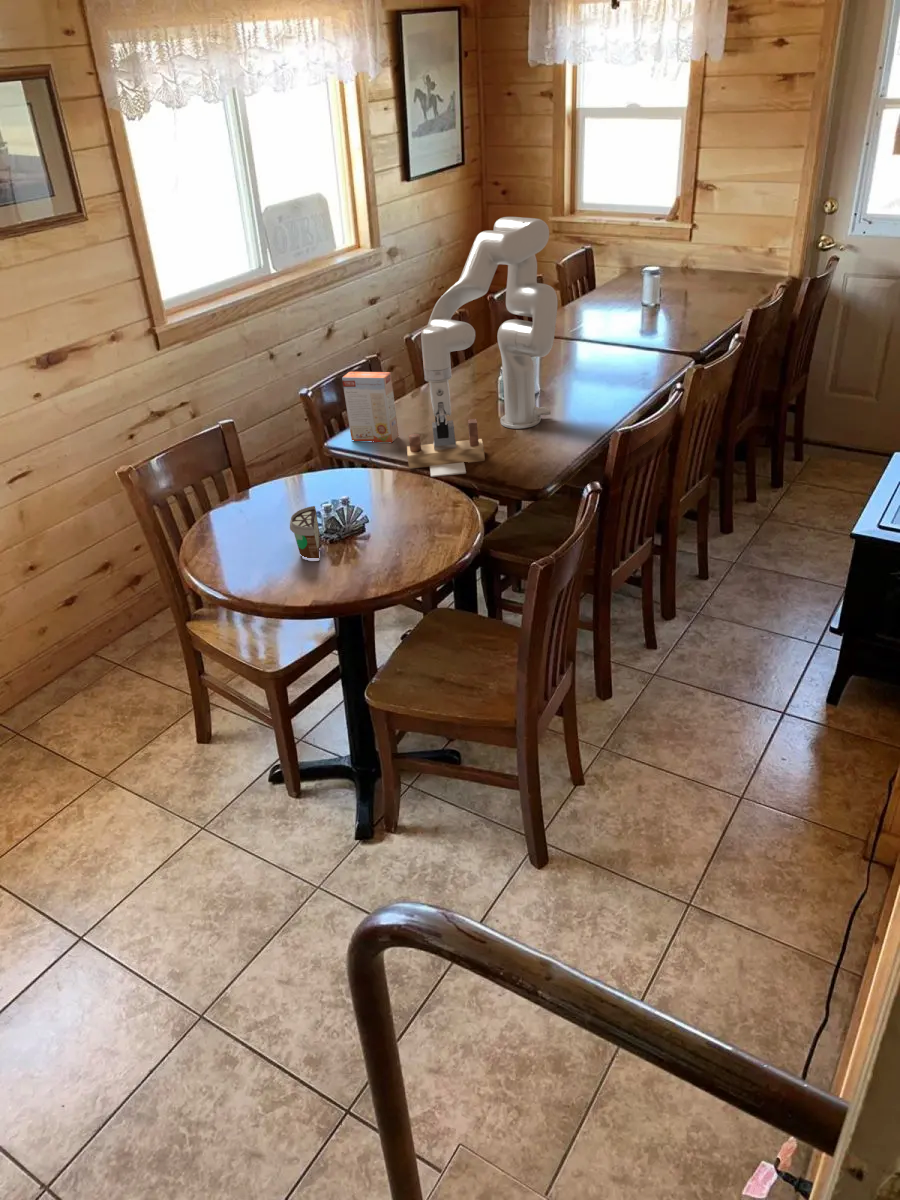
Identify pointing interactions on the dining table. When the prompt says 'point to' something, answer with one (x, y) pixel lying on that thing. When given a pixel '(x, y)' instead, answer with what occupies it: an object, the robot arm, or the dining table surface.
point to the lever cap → (444, 440)
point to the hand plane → (446, 450)
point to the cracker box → (370, 406)
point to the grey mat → (447, 469)
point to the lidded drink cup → (306, 531)
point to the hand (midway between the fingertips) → (442, 431)
